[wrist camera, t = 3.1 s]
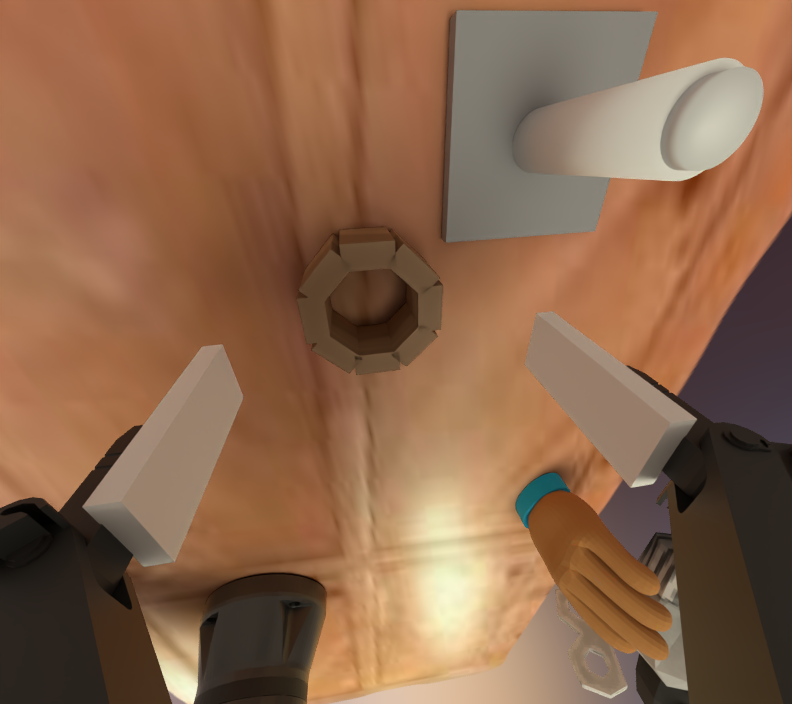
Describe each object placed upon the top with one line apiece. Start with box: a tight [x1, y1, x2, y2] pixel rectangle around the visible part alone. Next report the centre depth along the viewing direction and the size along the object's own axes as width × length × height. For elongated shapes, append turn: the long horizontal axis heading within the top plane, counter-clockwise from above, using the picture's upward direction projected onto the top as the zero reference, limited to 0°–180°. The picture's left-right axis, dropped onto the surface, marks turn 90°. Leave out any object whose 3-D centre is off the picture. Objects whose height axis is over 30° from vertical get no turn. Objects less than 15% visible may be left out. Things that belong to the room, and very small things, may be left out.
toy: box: [556, 533, 689, 704], centre depth 47 cm, size 21×31×30 cm
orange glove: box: [516, 473, 672, 661], centre depth 32 cm, size 12×7×15 cm, turn 167°
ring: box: [297, 227, 443, 375], centre depth 19 cm, size 8×8×4 cm
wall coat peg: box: [442, 10, 763, 243], centre depth 13 cm, size 10×10×11 cm
